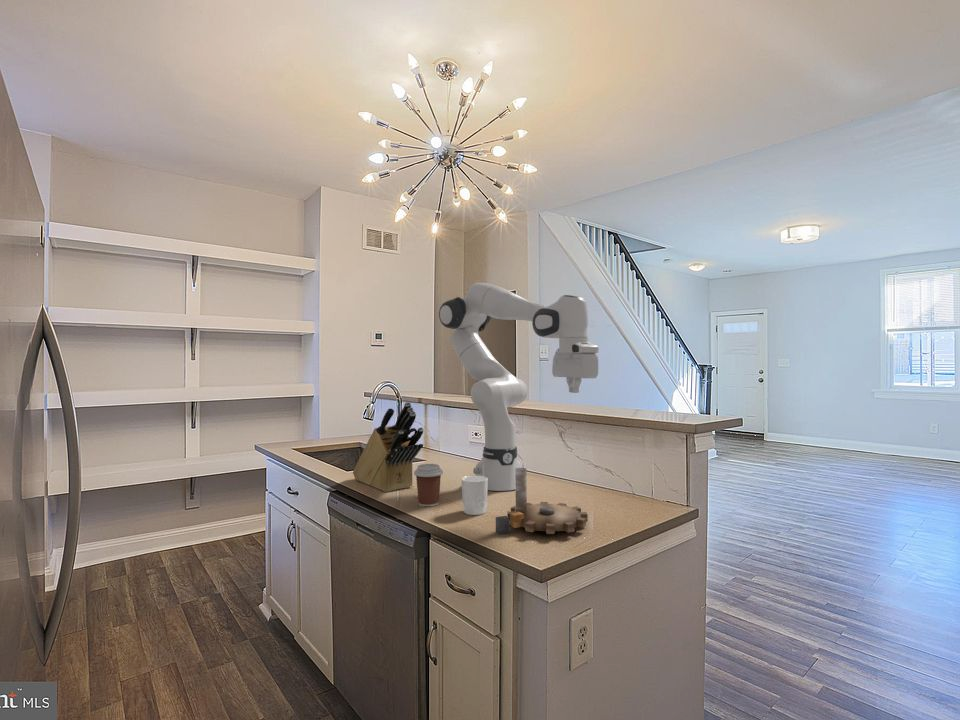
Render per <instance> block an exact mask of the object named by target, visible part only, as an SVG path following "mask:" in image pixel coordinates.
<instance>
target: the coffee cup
mask: <svg viewBox="0 0 960 720" xmlns="http://www.w3.org/2000/svg"><path fill="white" fill-rule="evenodd" d="M416 467H417V468H416V470H414V472H413V475H414V476H415V478H416V487H417V488H416V489H417V499H418V500H417V502H418V506H420V505H421V506H420V507H424V506H431V507H436V506H438V505H439V504H440V492H441V491H440V490H441V489H440V488H441V477H442V475H443V473H444V471H443V469H441V468H440V465H439V464H436V463H423V464H419V465H417V466H416ZM437 504H438V505H437ZM435 505H436V506H435Z"/></svg>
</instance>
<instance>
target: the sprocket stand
mask: <svg viewBox="0 0 960 720" xmlns="http://www.w3.org/2000/svg"><path fill="white" fill-rule="evenodd" d="M495 533H496V534H497V535H500V534H501V535H507V534H510V521H509V517H507V515H503V516H501V515H500V516H495ZM506 533H507V534H506Z"/></svg>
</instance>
